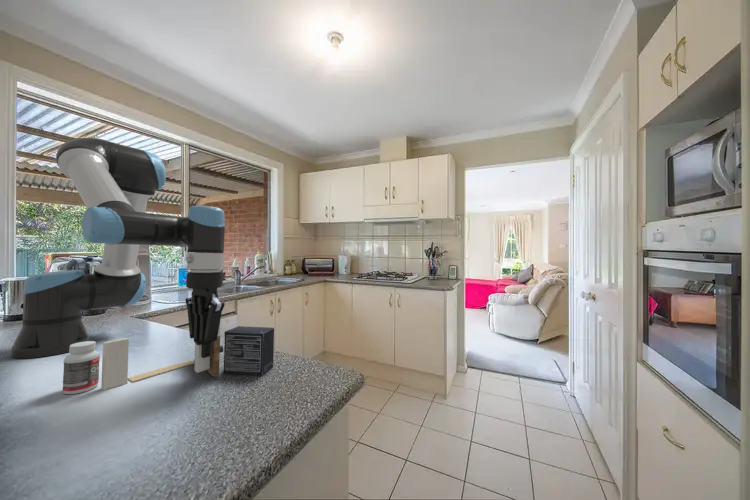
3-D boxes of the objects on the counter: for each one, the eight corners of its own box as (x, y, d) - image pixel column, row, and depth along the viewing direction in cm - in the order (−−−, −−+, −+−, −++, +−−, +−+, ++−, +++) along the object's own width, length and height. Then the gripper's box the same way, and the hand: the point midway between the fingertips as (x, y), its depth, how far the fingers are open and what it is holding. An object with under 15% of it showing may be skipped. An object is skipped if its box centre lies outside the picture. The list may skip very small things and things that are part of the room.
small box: (274, 365, 74) (275, 326, 75) (262, 376, 68) (263, 333, 68) (237, 363, 76) (238, 324, 76) (222, 373, 69) (223, 331, 69)
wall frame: (100, 387, 61) (101, 337, 61) (214, 353, 82) (216, 316, 83) (105, 391, 59) (106, 339, 60) (220, 355, 81) (221, 317, 81)
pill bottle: (98, 389, 60) (99, 344, 60) (60, 398, 56) (62, 349, 56) (99, 381, 64) (100, 338, 64) (64, 388, 60) (65, 343, 60)
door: (213, 376, 66) (214, 336, 66) (197, 360, 75) (198, 325, 76) (224, 373, 68) (225, 334, 68) (207, 358, 77) (208, 324, 77)
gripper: (174, 270, 67) (171, 368, 67) (203, 273, 60) (200, 382, 60) (206, 269, 73) (203, 359, 73) (236, 271, 67) (233, 370, 66)
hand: (202, 369), depth 66 cm, fingers closed
